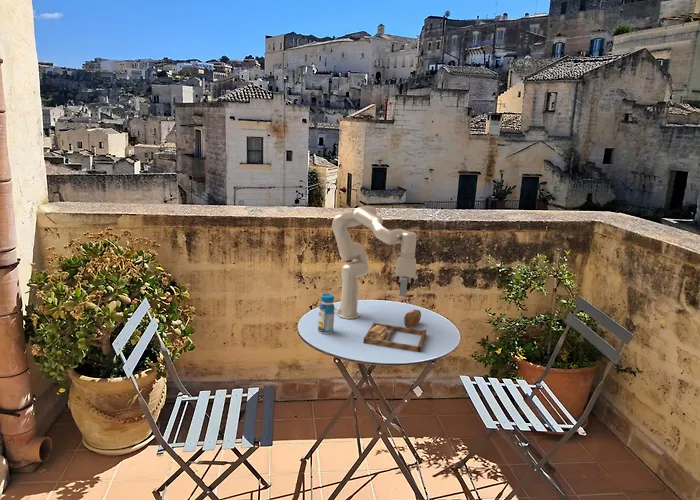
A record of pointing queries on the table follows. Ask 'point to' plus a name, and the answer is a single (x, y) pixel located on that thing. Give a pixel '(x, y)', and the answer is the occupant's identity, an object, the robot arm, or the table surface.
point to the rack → (393, 344)
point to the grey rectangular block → (403, 286)
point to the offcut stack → (378, 332)
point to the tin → (412, 318)
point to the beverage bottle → (326, 314)
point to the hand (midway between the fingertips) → (404, 288)
